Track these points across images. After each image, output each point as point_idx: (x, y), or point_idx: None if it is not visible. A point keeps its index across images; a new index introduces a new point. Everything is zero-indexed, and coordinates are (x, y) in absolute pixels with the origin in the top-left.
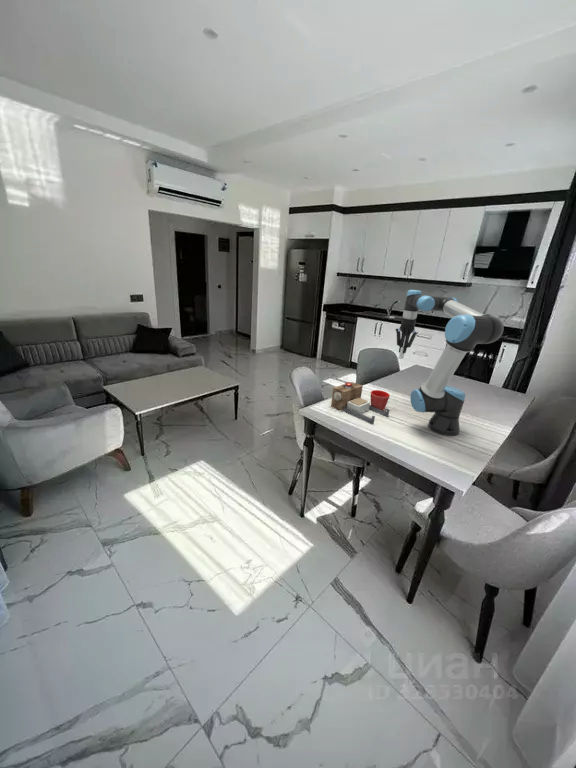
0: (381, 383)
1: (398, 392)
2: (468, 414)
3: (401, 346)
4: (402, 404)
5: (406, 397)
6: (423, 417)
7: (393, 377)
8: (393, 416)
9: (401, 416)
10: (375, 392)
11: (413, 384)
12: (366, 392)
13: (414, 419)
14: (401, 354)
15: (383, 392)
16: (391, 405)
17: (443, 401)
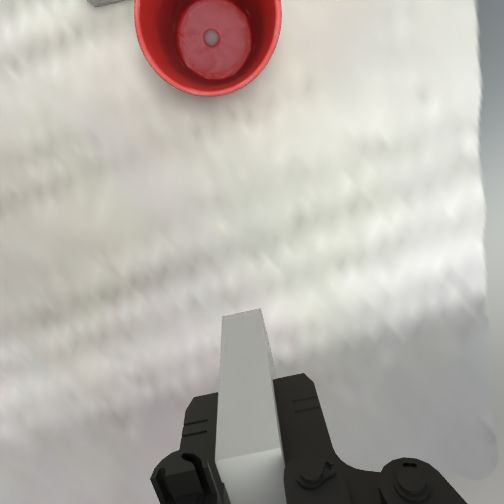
0: (465, 357)
1: (331, 346)
2: (13, 438)
3: (287, 484)
4: (203, 239)
5: None
6: (34, 211)
7: (484, 473)
8: (89, 45)
9: (76, 96)
10: (268, 37)
11: None
12: (420, 169)
13: (25, 139)
14: (229, 355)
15: (231, 85)
16: (215, 165)
17: None
